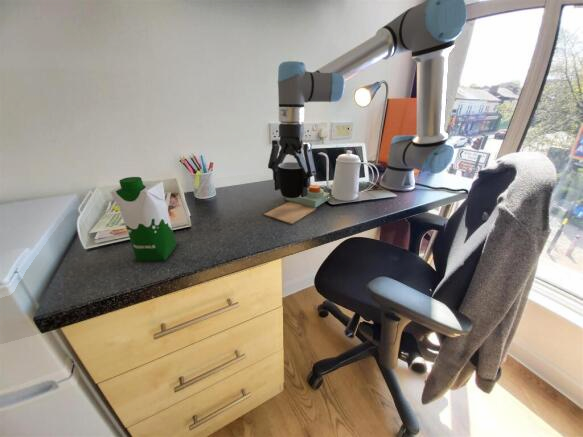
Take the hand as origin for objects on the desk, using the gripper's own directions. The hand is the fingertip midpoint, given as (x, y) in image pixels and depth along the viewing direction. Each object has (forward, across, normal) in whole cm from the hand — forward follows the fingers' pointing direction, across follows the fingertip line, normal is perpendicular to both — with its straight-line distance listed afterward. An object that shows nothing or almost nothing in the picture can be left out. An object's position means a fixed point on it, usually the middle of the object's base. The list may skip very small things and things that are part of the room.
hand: (290, 192), depth 81 cm
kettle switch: (+3, +1, +14) cm, 14 cm away
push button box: (+7, -2, +14) cm, 16 cm away
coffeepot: (+7, +8, +26) cm, 28 cm away
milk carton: (+8, -12, -41) cm, 43 cm away
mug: (+1, 0, 0) cm, 1 cm away
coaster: (+7, 0, 0) cm, 7 cm away
